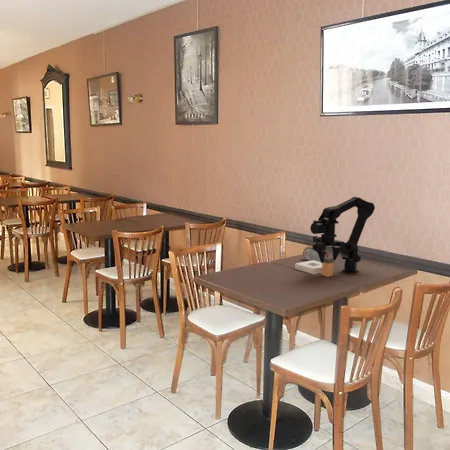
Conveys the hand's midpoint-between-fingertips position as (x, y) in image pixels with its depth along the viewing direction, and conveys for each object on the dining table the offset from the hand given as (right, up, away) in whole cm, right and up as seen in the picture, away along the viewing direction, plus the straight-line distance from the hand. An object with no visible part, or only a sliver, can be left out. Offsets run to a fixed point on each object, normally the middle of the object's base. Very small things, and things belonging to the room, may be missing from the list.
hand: (328, 261), depth 250 cm
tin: (-1, -2, +31) cm, 31 cm away
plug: (0, -7, +1) cm, 7 cm away
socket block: (-5, -5, +12) cm, 14 cm away
